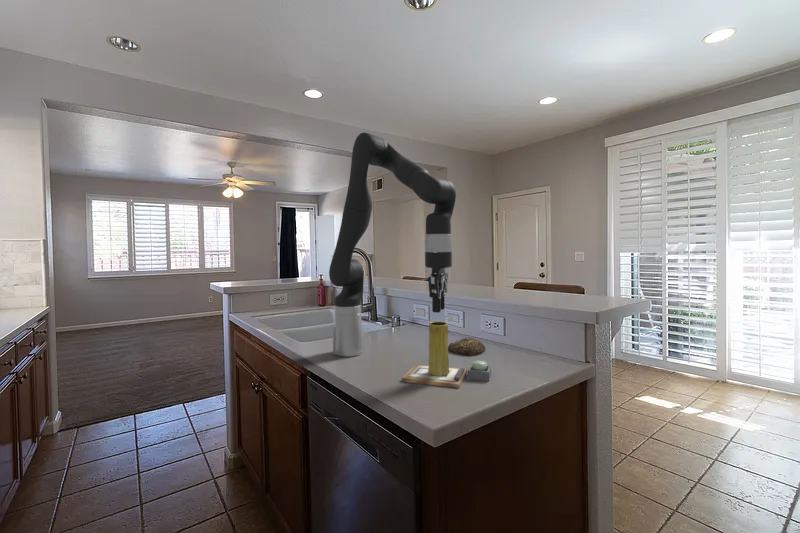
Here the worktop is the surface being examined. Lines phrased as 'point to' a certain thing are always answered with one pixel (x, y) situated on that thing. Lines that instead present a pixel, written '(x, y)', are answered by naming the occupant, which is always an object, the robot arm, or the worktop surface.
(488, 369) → the button housing
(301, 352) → the worktop surface
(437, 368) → the vase
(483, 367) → the button
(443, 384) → the clipboard
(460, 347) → the bread roll
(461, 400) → the worktop surface
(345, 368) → the worktop surface
